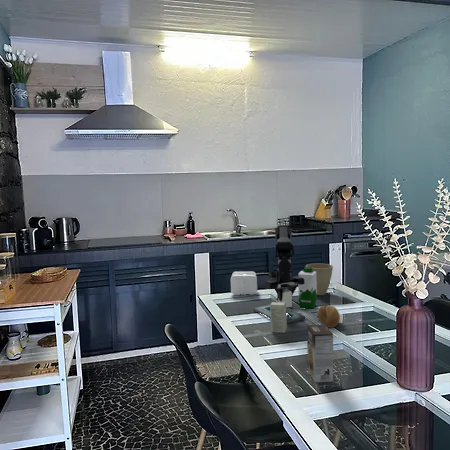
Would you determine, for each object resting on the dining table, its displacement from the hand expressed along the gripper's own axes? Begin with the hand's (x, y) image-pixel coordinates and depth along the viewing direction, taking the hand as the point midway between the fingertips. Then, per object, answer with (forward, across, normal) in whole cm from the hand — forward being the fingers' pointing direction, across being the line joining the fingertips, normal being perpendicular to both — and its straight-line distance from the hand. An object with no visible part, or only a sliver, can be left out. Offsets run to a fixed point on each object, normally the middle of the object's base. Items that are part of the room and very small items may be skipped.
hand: (285, 300), depth 195 cm
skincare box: (+9, +11, +12) cm, 19 cm away
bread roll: (+9, -13, +15) cm, 22 cm away
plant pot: (+9, -40, -27) cm, 49 cm away
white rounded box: (+9, -4, -50) cm, 51 cm away
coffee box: (+9, +21, +54) cm, 59 cm away
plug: (+2, 0, 0) cm, 2 cm away
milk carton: (+9, -19, -9) cm, 23 cm away
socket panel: (+9, 0, -6) cm, 11 cm away
